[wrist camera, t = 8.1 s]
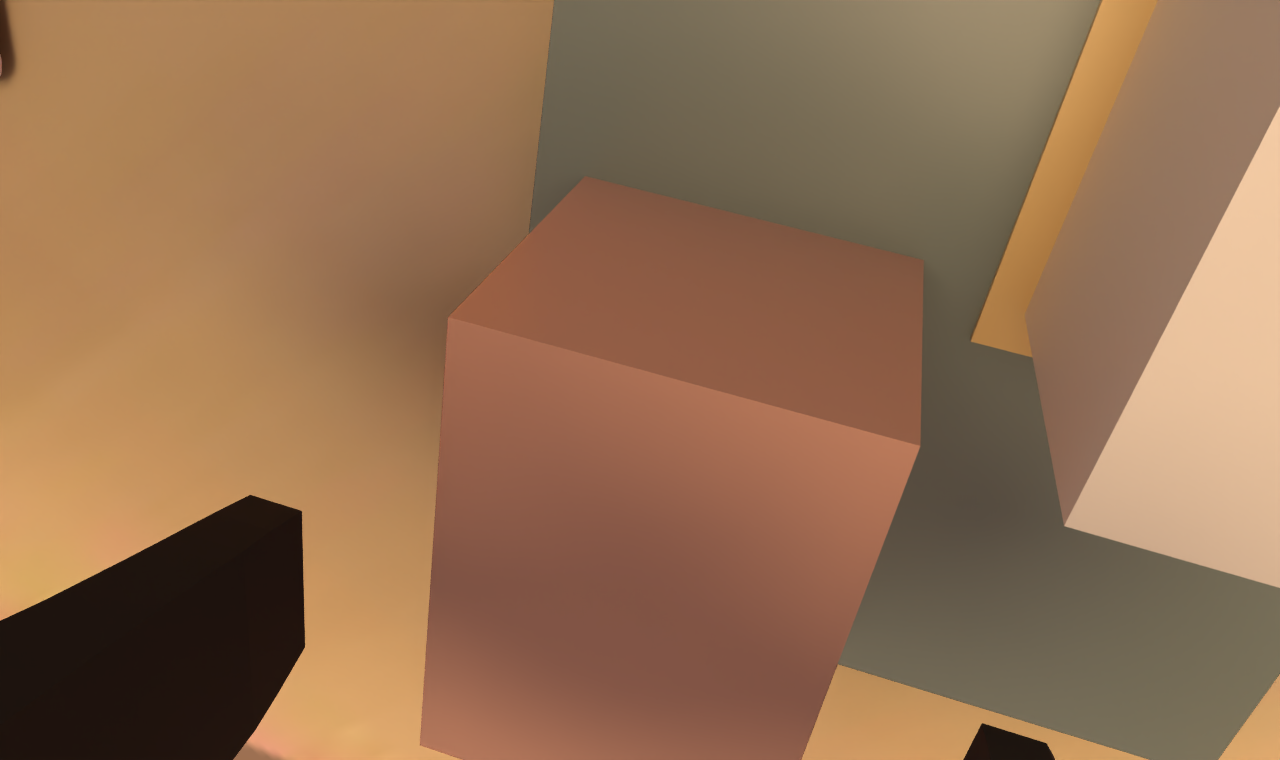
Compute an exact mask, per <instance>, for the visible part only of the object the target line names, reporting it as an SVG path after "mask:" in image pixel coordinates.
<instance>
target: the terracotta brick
mask: <svg viewBox="0 0 1280 760" xmlns="http://www.w3.org/2000/svg"><path fill="white" fill-rule="evenodd" d="M923 274H924V260H921V259H917V258H913V257H909V256H905V255H901V254H897V253H893V252H889V251H885V250H881V249H877V248H873V247H869V246H865V245H861V244H857V243H853V242H849V241H845V240H841V239H837V238H833V237H829V236H825V235H820V234H816V233H812V232H808V231H804V230H800V229H796V228H792V227H788V226H784V225H780V224H776V223H772V222H768V221H764V220H760V219H756V218H752V217H748V216H744V215H740V214H736V213H732V212H728V211H724V210H720V209H716V208H712V207H708V206H704V205H700V204H696V203H692V202H688V201H683V200H679V199H675V198H671V197H667V196H663V195H659V194H655V193H651V192H647V191H643V190H639V189H635V188H631V187H627V186H623V185H619V184H615V183H611V182H607V181H603V180H599V179H595V178H591V177H587V176H585V177H584V178H583V179H582V180H581V181H580V182H579V183H578V184H577V185H576V186H575V187H574V188H573V189H572V190H571V191H570V192H569V193H568V194H567V195H566V196H565V197H564V198H563V199H562V201H561V202H560V203H559V204H558V205H557V206H556V207H555V208H554V209H553V210H552V211H551V212H550V213H549V214H548V215H547V216H546V217H545V218H544V219H543V220H542V221H541V222H540V223H539V224H538V225H537V226H536V227H535V228H534V229H533V230H532V231H531V232H530V233H529V234H528V235H527V236H526V238H525V239H524V240H523V241H522V242H521V243H520V244H519V245H518V246H517V247H516V248H515V249H514V250H513V251H512V252H511V253H510V254H509V255H508V256H507V257H506V258H505V259H504V260H503V261H502V262H501V263H500V264H499V265H498V266H497V267H496V268H495V269H494V270H493V271H492V272H491V273H490V275H489V276H488V277H487V278H486V279H485V280H484V281H483V282H482V283H481V284H480V285H479V286H478V287H477V288H476V289H475V290H474V291H473V292H472V293H471V294H470V295H469V296H468V297H467V298H466V299H465V300H464V301H463V302H462V303H461V304H460V305H459V306H458V307H457V308H456V309H455V311H454V312H453V313H452V314H451V315H450V316H449V317H448V327H447V342H446V357H445V372H444V387H443V403H442V418H441V433H440V448H439V463H438V478H437V494H436V509H435V524H434V539H433V554H432V569H431V585H430V600H429V615H428V630H427V645H426V660H425V676H424V691H423V706H422V721H421V736H420V745H421V746H424V747H427V748H430V749H433V750H436V751H439V752H442V753H445V754H448V755H450V756H453V757H456V758H459V759H462V760H801V759H802V757H803V754H804V751H805V749H806V746H807V743H808V741H809V738H810V735H811V733H812V730H813V728H814V725H815V722H816V720H817V717H818V714H819V712H820V709H821V707H822V704H823V701H824V699H825V696H826V693H827V691H828V688H829V685H830V683H831V680H832V678H833V675H834V672H835V670H836V667H837V664H838V662H839V659H840V656H841V654H842V651H843V649H844V646H845V643H846V641H847V638H848V635H849V633H850V630H851V628H852V625H853V622H854V620H855V617H856V614H857V612H858V609H859V606H860V604H861V601H862V599H863V596H864V593H865V591H866V588H867V585H868V583H869V580H870V577H871V575H872V572H873V570H874V567H875V564H876V562H877V559H878V556H879V554H880V551H881V549H882V546H883V543H884V541H885V538H886V535H887V533H888V530H889V527H890V525H891V522H892V520H893V517H894V514H895V512H896V509H897V506H898V504H899V501H900V498H901V496H902V493H903V491H904V488H905V485H906V483H907V480H908V477H909V475H910V472H911V470H912V467H913V464H914V462H915V459H916V456H917V454H918V451H919V448H920V440H921V384H922V329H923Z"/></svg>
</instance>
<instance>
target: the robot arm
mask: <svg viewBox="0 0 1280 760" xmlns="http://www.w3.org/2000/svg"><path fill="white" fill-rule="evenodd" d="M1 74H2V61H1V56H0V76H1ZM304 648H305V627H304V585H303V544H302V511H300V510H297V509H294V508H290V507H287V506H284V505H281V504H278V503H274V502H271V501H268V500H265V499H261V498H258V497H255V496H252V495H249V496H247V497H245V498H243V499H241V500H239V501H237V502H235V503H233V504H231V505H229V506H227V507H225V508H223V509H221V510H219V511H217V512H215V513H213V514H211V515H209V516H208V517H206V518H204V519H202V520H200V521H198V522H196V523H194V524H192V525H190V526H188V527H186V528H185V529H183V530H181V531H179V532H177V533H175V534H173V535H171V536H169V537H167V538H166V539H164V540H162V541H160V542H158V543H156V544H154V545H152V546H150V547H148V548H146V549H144V550H143V551H141V552H139V553H137V554H135V555H133V556H131V557H129V558H127V559H125V560H123V561H121V562H119V563H117V564H115V565H113V566H111V567H109V568H107V569H105V570H103V571H102V572H100V573H98V574H96V575H94V576H92V577H90V578H88V579H86V580H84V581H82V582H80V583H78V584H76V585H74V586H72V587H70V588H68V589H66V590H64V591H62V592H60V593H58V594H56V595H54V596H52V597H50V598H48V599H46V600H44V601H42V602H40V603H38V604H36V605H34V606H31V607H29V608H27V609H25V610H23V611H21V612H18V613H16V614H14V615H12V616H10V617H8V618H5V619H3V620H1V621H0V760H233V759H234V758H235V756H236V755H237V754H238V752H239V751H240V750H241V748H242V747H243V746H244V744H245V743H246V742H247V740H248V739H249V738H250V736H251V735H252V734H253V732H254V731H255V730H256V728H257V726H258V725H259V723H260V722H261V720H262V718H263V717H264V715H265V713H266V712H267V710H268V709H269V707H270V705H271V704H272V702H273V701H274V699H275V697H276V696H277V694H278V692H279V691H280V689H281V687H282V686H283V684H284V682H285V680H286V679H287V677H288V675H289V674H290V672H291V670H292V668H293V667H294V665H295V663H296V661H297V660H298V658H299V656H300V655H301V653H302V651H303V649H304ZM964 760H1055V758H1054V756H1053V754H1052V752H1051V751H1050V749H1049V747H1048V745H1047V744H1046V743H1044V742H1040V741H1037V740H1034V739H1031V738H1028V737H1024V736H1021V735H1018V734H1015V733H1012V732H1008V731H1005V730H1002V729H999V728H996V727H992V726H989V725H986V724H983V723H982V724H981V726H980V728H979V730H978V732H977V734H976V736H975V738H974V740H973V742H972V744H971V746H970V748H969V750H968V752H967V754H966V756H965V758H964Z"/></svg>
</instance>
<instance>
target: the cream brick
mask: <svg viewBox="0 0 1280 760" xmlns="http://www.w3.org/2000/svg"><path fill="white" fill-rule="evenodd" d="M1025 320H1026V326H1027V331H1028V336H1029V342H1030V347H1031V352H1032V358H1033V363H1034V368H1035V374H1036V379H1037V384H1038V390H1039V395H1040V400H1041V406H1042V411H1043V416H1044V422H1045V427H1046V432H1047V438H1048V443H1049V448H1050V454H1051V459H1052V464H1053V470H1054V475H1055V480H1056V486H1057V491H1058V496H1059V502H1060V507H1061V512H1062V518H1063V523H1064V526H1066V527H1069V528H1073V529H1076V530H1080V531H1083V532H1087V533H1090V534H1094V535H1097V536H1100V537H1104V538H1107V539H1111V540H1114V541H1118V542H1121V543H1125V544H1128V545H1132V546H1135V547H1139V548H1142V549H1146V550H1149V551H1153V552H1156V553H1160V554H1163V555H1167V556H1170V557H1174V558H1177V559H1181V560H1184V561H1188V562H1191V563H1195V564H1198V565H1202V566H1205V567H1209V568H1212V569H1216V570H1219V571H1223V572H1226V573H1230V574H1233V575H1237V576H1240V577H1243V578H1247V579H1250V580H1254V581H1257V582H1261V583H1264V584H1268V585H1271V586H1275V587H1278V588H1280V0H1158V1H1157V4H1156V6H1155V8H1154V11H1153V13H1152V15H1151V18H1150V20H1149V22H1148V25H1147V27H1146V30H1145V32H1144V34H1143V37H1142V39H1141V41H1140V44H1139V46H1138V48H1137V51H1136V53H1135V55H1134V58H1133V60H1132V63H1131V65H1130V67H1129V70H1128V72H1127V74H1126V77H1125V79H1124V81H1123V84H1122V86H1121V88H1120V91H1119V93H1118V96H1117V98H1116V100H1115V103H1114V105H1113V107H1112V110H1111V112H1110V114H1109V117H1108V119H1107V121H1106V124H1105V126H1104V129H1103V131H1102V133H1101V136H1100V138H1099V140H1098V143H1097V145H1096V147H1095V150H1094V152H1093V154H1092V157H1091V159H1090V162H1089V164H1088V166H1087V169H1086V171H1085V173H1084V176H1083V178H1082V180H1081V183H1080V185H1079V187H1078V190H1077V192H1076V195H1075V197H1074V199H1073V202H1072V204H1071V206H1070V209H1069V211H1068V213H1067V216H1066V218H1065V220H1064V223H1063V225H1062V228H1061V230H1060V232H1059V235H1058V237H1057V239H1056V242H1055V244H1054V246H1053V249H1052V251H1051V253H1050V256H1049V258H1048V261H1047V263H1046V265H1045V268H1044V270H1043V272H1042V275H1041V277H1040V279H1039V282H1038V284H1037V286H1036V289H1035V291H1034V294H1033V296H1032V298H1031V301H1030V303H1029V305H1028V308H1027V310H1026V312H1025Z"/></svg>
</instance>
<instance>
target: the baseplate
mask: <svg viewBox="0 0 1280 760" xmlns="http://www.w3.org/2000/svg"><path fill="white" fill-rule="evenodd" d="M1157 1H1158V0H554V7H553V16H552V26H551V35H550V44H549V53H548V62H547V71H546V81H545V90H544V99H543V108H542V117H541V126H540V136H539V145H538V154H537V163H536V172H535V181H534V191H533V200H532V209H531V218H530V227H529V233H530V232H531V231H532V230H533V229H534V228H535V227H536V226H537V225H538V224H539V223H540V222H541V221H542V220H543V219H544V218H545V217H546V216H547V215H548V214H549V213H550V212H551V211H552V210H553V209H554V208H555V207H556V206H557V205H558V204H559V203H560V202H561V201H562V199H563V198H564V197H565V196H566V195H567V194H568V193H569V192H570V191H571V190H572V189H573V188H574V187H575V186H576V185H577V184H578V183H579V182H580V181H581V180H582V179H583V178H584V177H585V176H587V177H591V178H595V179H599V180H603V181H607V182H611V183H615V184H619V185H623V186H627V187H631V188H635V189H639V190H643V191H647V192H651V193H655V194H659V195H663V196H667V197H671V198H675V199H679V200H683V201H688V202H692V203H696V204H700V205H704V206H708V207H712V208H716V209H720V210H724V211H728V212H732V213H736V214H740V215H744V216H748V217H752V218H756V219H760V220H764V221H768V222H772V223H776V224H780V225H784V226H788V227H792V228H796V229H800V230H804V231H808V232H812V233H816V234H820V235H825V236H829V237H833V238H837V239H841V240H845V241H849V242H853V243H857V244H861V245H865V246H869V247H873V248H877V249H881V250H885V251H889V252H893V253H897V254H901V255H905V256H909V257H913V258H917V259H921V260H924V274H923V329H922V384H921V440H920V448H919V451H918V454H917V456H916V459H915V462H914V464H913V467H912V470H911V472H910V475H909V477H908V480H907V483H906V485H905V488H904V491H903V493H902V496H901V498H900V501H899V504H898V506H897V509H896V512H895V514H894V517H893V520H892V522H891V525H890V527H889V530H888V533H887V535H886V538H885V541H884V543H883V546H882V549H881V551H880V554H879V556H878V559H877V562H876V564H875V567H874V570H873V572H872V575H871V577H870V580H869V583H868V585H867V588H866V591H865V593H864V596H863V599H862V601H861V604H860V606H859V609H858V612H857V614H856V617H855V620H854V622H853V625H852V628H851V630H850V633H849V635H848V638H847V641H846V643H845V646H844V649H843V651H842V654H841V656H840V659H839V662H838V664H839V665H842V666H846V667H849V668H852V669H856V670H859V671H862V672H865V673H869V674H872V675H875V676H878V677H882V678H885V679H888V680H891V681H895V682H898V683H901V684H905V685H908V686H911V687H914V688H918V689H921V690H924V691H927V692H931V693H934V694H937V695H940V696H944V697H947V698H950V699H954V700H957V701H960V702H963V703H967V704H970V705H973V706H976V707H980V708H983V709H986V710H989V711H993V712H996V713H999V714H1003V715H1006V716H1009V717H1012V718H1016V719H1019V720H1022V721H1025V722H1029V723H1032V724H1035V725H1038V726H1042V727H1045V728H1048V729H1051V730H1055V731H1058V732H1061V733H1065V734H1068V735H1071V736H1074V737H1078V738H1081V739H1084V740H1087V741H1091V742H1094V743H1097V744H1100V745H1104V746H1107V747H1110V748H1114V749H1117V750H1120V751H1123V752H1127V753H1130V754H1133V755H1136V756H1140V757H1143V758H1146V759H1149V760H1218V759H1219V758H1220V756H1221V755H1222V753H1223V752H1224V751H1225V749H1226V748H1227V746H1228V745H1229V744H1230V742H1231V741H1232V740H1233V738H1234V737H1235V735H1236V734H1237V733H1238V731H1239V730H1240V728H1241V727H1242V726H1243V724H1244V723H1245V722H1246V720H1247V719H1248V717H1249V716H1250V715H1251V713H1252V712H1253V710H1254V709H1255V708H1256V706H1257V705H1258V704H1259V702H1260V701H1261V699H1262V698H1263V697H1264V695H1265V694H1266V692H1267V691H1268V690H1269V688H1270V687H1271V685H1272V684H1273V683H1274V681H1275V680H1276V679H1277V677H1278V676H1279V674H1280V588H1278V587H1275V586H1271V585H1268V584H1264V583H1261V582H1257V581H1254V580H1250V579H1247V578H1243V577H1240V576H1237V575H1233V574H1230V573H1226V572H1223V571H1219V570H1216V569H1212V568H1209V567H1205V566H1202V565H1198V564H1195V563H1191V562H1188V561H1184V560H1181V559H1177V558H1174V557H1170V556H1167V555H1163V554H1160V553H1156V552H1153V551H1149V550H1146V549H1142V548H1139V547H1135V546H1132V545H1128V544H1125V543H1121V542H1118V541H1114V540H1111V539H1107V538H1104V537H1100V536H1097V535H1094V534H1090V533H1087V532H1083V531H1080V530H1076V529H1073V528H1069V527H1066V526H1064V523H1063V518H1062V512H1061V507H1060V502H1059V496H1058V491H1057V486H1056V480H1055V475H1054V470H1053V464H1052V459H1051V454H1050V448H1049V443H1048V438H1047V432H1046V427H1045V422H1044V416H1043V411H1042V406H1041V400H1040V395H1039V390H1038V384H1037V379H1036V374H1035V368H1034V363H1033V358H1032V352H1031V347H1030V342H1029V336H1028V331H1027V326H1026V320H1025V312H1026V310H1027V308H1028V305H1029V303H1030V301H1031V298H1032V296H1033V294H1034V291H1035V289H1036V286H1037V284H1038V282H1039V279H1040V277H1041V275H1042V272H1043V270H1044V268H1045V265H1046V263H1047V261H1048V258H1049V256H1050V253H1051V251H1052V249H1053V246H1054V244H1055V242H1056V239H1057V237H1058V235H1059V232H1060V230H1061V228H1062V225H1063V223H1064V220H1065V218H1066V216H1067V213H1068V211H1069V209H1070V206H1071V204H1072V202H1073V199H1074V197H1075V195H1076V192H1077V190H1078V187H1079V185H1080V183H1081V180H1082V178H1083V176H1084V173H1085V171H1086V169H1087V166H1088V164H1089V162H1090V159H1091V157H1092V154H1093V152H1094V150H1095V147H1096V145H1097V143H1098V140H1099V138H1100V136H1101V133H1102V131H1103V129H1104V126H1105V124H1106V121H1107V119H1108V117H1109V114H1110V112H1111V110H1112V107H1113V105H1114V103H1115V100H1116V98H1117V96H1118V93H1119V91H1120V88H1121V86H1122V84H1123V81H1124V79H1125V77H1126V74H1127V72H1128V70H1129V67H1130V65H1131V63H1132V60H1133V58H1134V55H1135V53H1136V51H1137V48H1138V46H1139V44H1140V41H1141V39H1142V37H1143V34H1144V32H1145V30H1146V27H1147V25H1148V22H1149V20H1150V18H1151V15H1152V13H1153V11H1154V8H1155V6H1156V4H1157Z"/></svg>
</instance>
